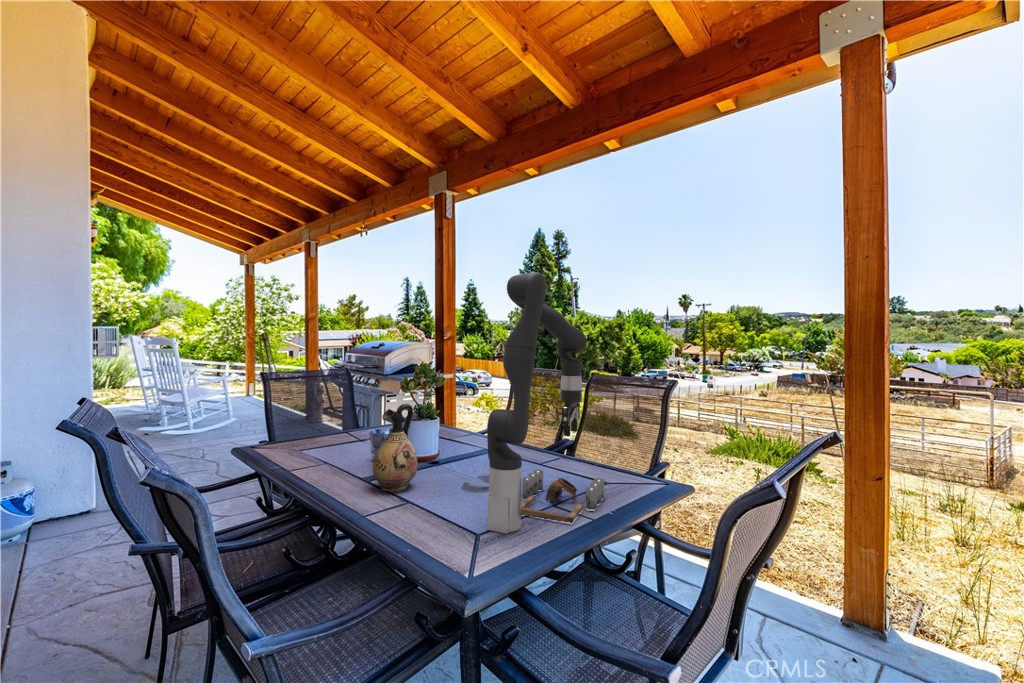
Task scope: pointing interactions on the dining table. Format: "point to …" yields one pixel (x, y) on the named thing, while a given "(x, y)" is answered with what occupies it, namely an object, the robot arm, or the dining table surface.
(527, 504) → the walnut frame
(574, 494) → the pottery mug
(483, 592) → the dining table surface
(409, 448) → the ceramic jug
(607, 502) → the dining table surface
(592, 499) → the metal posts
